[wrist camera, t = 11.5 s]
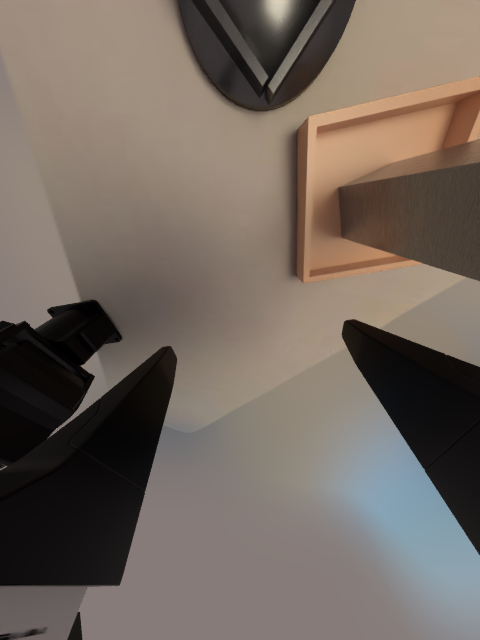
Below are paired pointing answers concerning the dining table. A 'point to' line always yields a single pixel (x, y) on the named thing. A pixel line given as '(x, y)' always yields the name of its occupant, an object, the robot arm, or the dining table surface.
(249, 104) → the socket cup
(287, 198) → the dining table surface
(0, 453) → the robot arm
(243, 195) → the dining table surface
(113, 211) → the dining table surface
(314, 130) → the tray
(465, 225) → the strut
